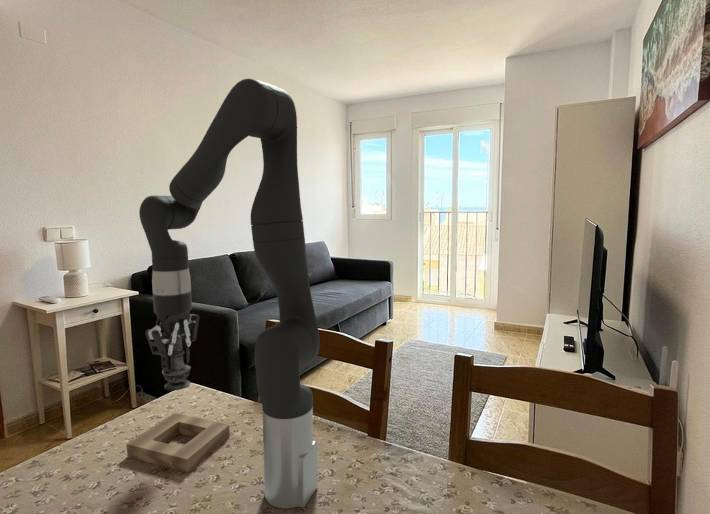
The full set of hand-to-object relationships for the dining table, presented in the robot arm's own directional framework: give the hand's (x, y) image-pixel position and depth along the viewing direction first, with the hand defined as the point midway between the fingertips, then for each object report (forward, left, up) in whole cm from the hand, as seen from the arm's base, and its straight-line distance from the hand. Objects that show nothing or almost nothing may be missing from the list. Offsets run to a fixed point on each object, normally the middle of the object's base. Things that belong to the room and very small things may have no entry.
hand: (176, 366), depth 91 cm
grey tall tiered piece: (0, 0, -4) cm, 4 cm away
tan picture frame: (0, 0, -19) cm, 19 cm away
